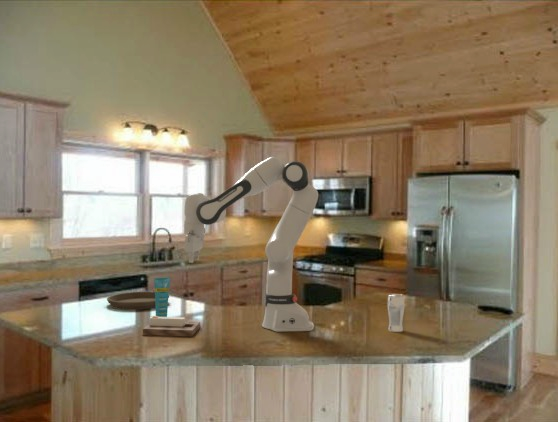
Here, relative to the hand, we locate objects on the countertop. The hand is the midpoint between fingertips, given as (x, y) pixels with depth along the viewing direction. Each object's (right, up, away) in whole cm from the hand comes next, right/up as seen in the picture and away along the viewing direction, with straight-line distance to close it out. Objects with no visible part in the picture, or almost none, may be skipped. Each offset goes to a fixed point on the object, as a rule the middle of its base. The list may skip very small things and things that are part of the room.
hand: (193, 261), depth 210 cm
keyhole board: (-6, -27, -15) cm, 31 cm away
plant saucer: (-35, -27, +37) cm, 58 cm away
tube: (-15, -27, +4) cm, 31 cm away
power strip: (-8, -27, -14) cm, 32 cm away
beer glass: (+87, -29, -8) cm, 92 cm away
